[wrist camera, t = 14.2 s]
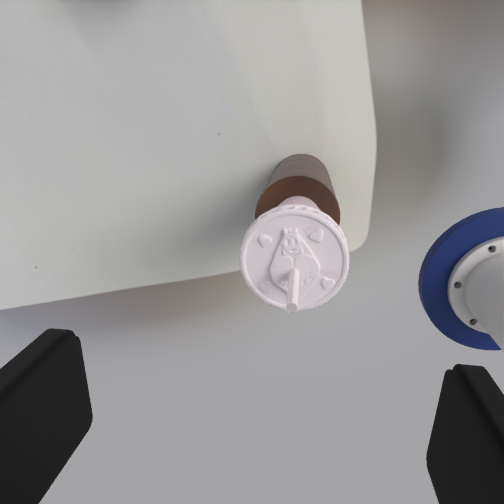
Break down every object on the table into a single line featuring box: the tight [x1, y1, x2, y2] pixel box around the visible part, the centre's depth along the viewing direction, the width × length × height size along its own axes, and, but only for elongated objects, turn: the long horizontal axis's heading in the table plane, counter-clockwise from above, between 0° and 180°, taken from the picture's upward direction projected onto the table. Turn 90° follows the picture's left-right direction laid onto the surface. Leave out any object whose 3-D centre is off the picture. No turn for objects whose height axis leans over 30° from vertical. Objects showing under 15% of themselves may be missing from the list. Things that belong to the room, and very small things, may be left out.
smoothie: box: [240, 196, 349, 313], centre depth 24 cm, size 6×6×14 cm
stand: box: [255, 154, 340, 225], centre depth 38 cm, size 7×7×16 cm
